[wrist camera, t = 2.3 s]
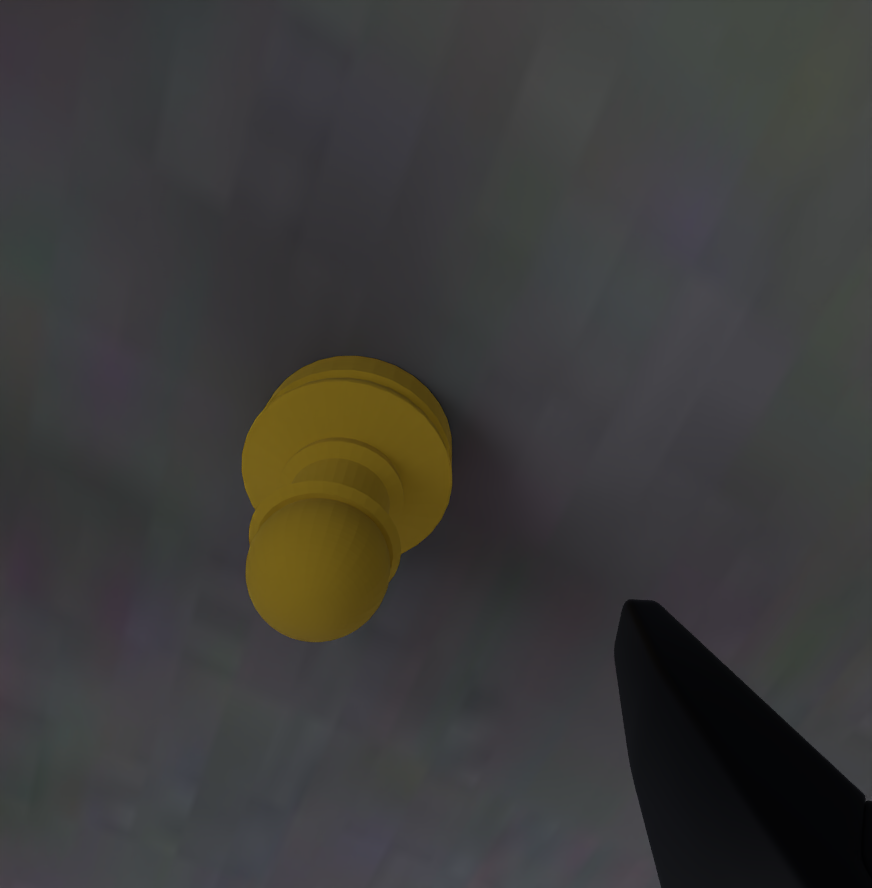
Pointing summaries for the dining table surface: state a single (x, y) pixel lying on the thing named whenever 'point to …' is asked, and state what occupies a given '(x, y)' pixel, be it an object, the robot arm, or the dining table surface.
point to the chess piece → (340, 492)
